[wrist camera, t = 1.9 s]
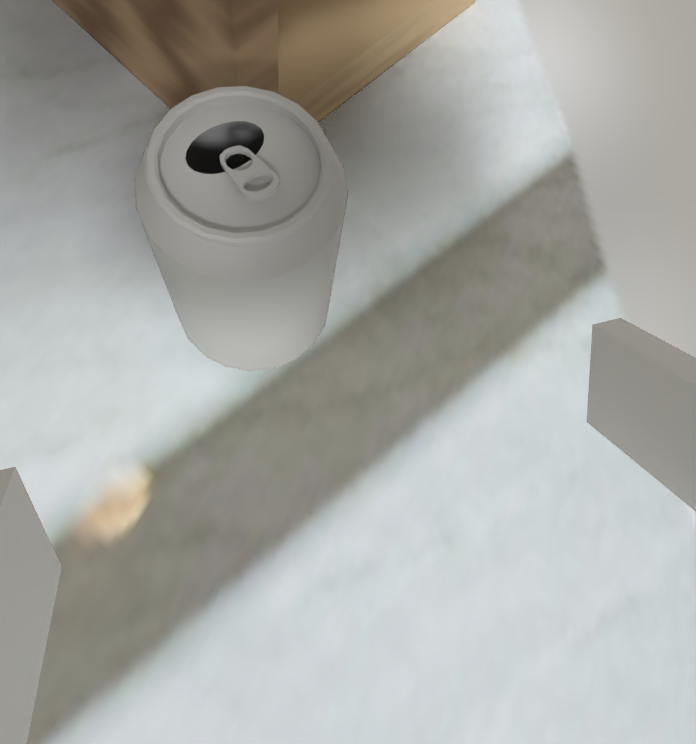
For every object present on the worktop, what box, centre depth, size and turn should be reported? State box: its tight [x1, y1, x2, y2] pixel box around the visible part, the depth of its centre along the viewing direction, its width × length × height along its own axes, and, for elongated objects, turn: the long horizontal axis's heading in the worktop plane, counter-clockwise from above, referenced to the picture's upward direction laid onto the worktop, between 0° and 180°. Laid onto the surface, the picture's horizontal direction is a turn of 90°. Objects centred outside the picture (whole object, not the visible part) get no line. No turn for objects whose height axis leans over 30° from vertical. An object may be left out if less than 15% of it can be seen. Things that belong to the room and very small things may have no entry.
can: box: [135, 86, 348, 371], centre depth 26 cm, size 8×8×12 cm
